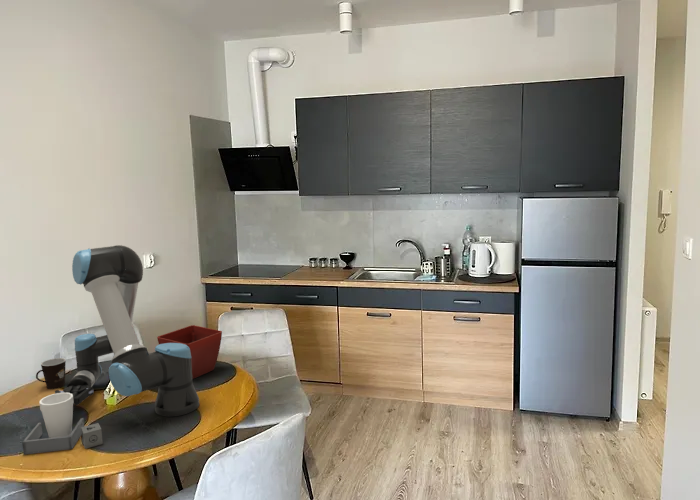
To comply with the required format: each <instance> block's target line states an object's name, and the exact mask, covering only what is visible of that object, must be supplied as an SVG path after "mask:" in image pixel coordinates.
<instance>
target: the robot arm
mask: <svg viewBox="0 0 700 500" xmlns="http://www.w3.org/2000/svg"><path fill="white" fill-rule="evenodd" d="M72 259H73V260H72V264H71V265H72V266H71V267H72V268H71V269H72V277H73V281H74V282H75V283H76V284H77V285H83V287H84V290H85V291H86V292H89V293H91V294H92V297H93V301H94V303H95V306H96V309H97V311H98V315H99V317H100V319H101V322H102V325H103V328H104V331H105V334H106V335H101V336H96V334H94V333H84V334H80V335H77V336H76V337H75V338H74V351H75V360H76V370H77V372H76V374H75V375H74V376H73V377H72V378H71V380H70V381H68V383H67V385H66V387H65V388H63V389H62V390H59V389H57V390H56V389H55V390H54V394H56V393H71V394H72V395H73V400H74V403H73V406H78V405H80V404H82V402H84V401H85V400H87V399H88V398H89V397H90V396H92V395H94V394H95V393H94V385H95V384H96V382H97V381H99V379H100V378H101V375H102V373H103V368H102V365H101V364H100V363H99V357H102V356H106V355H109V354H113V355H112V358H111V361H110V363H111V365H110V366H109V367H108V375H109V376H108V377H109V378H108V379H109V381H110V384H111V385H112V387H113V389H114V390H115V391H116V392H117V393H118V394H119V395H121V396H122V397H131V396H133V395H138V394H141V393H142V392H146V391H149V390H152V389H155V388H157V387H158V391H157V395H156V398H155V402H154V410H155V413H156V414H157V415H158V416H161V417H178V416H184V415H186V414H189V413H192V412H194V411H196V409H198V408H199V407H200V397H199V395H198V393H197V390H196V388H195V386H194V381H193V380H194V379H192V365H191V358H192V357H191V352H190V348H189V347H188V346H187V345H185V344H181V343H164V344H159V343H158V344H157V345H156V346H155V347H154V352H148V351H149V350H148V349H147V346H144V345H141V343H140V341H139V339H138V335H137V333H136V330H135V328H134V326H133V323H132V322H133V316H134V312H135V305H136V300H137V294H138V293H137V292H138V288H139V283H140V282H141V281H142V280H143V275H144V267H143V262H142V260H141V258H140V256H139V255H138V254H137V252H136V251H134V250H133V249H132V248H130V247H129V246H125V245H122V244H121V245H118V244H117V245H113V246H112V245H111V246H103V247H94V248H90V247H89V248H87V249H80V250H78V251H77V252H76V253H75V254H74V255H73V258H72Z"/></svg>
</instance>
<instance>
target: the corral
mask: <svg viewBox="0 0 700 500" xmlns="http://www.w3.org/2000/svg"><path fill="white" fill-rule="evenodd" d="M81 427H85V420H84V417H80V418H79V420H78V421H77V423H76V425H75V427H73V428H72V432H71V434H70V435H69V436H63V437H54V438H49V437H45V438H41V436H42V435H43V429H42V428H43V426H42V422H38V423H37V424H36V425H35V427H33V428H32V430H31V431H30V432H29V434H27V436H26V437H25V438H24V440H23V441H22V443H21V444H22V451H23V455H33V454H40V453H49V452H59V451H67V450H73V448H74V447H75V445H77V443H78V440H80V438H81V437H82V432H81Z"/></svg>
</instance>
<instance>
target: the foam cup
mask: <svg viewBox="0 0 700 500" xmlns="http://www.w3.org/2000/svg"><path fill="white" fill-rule="evenodd" d="M38 403H39V409H40V412H41V415H42V418H43V420H44V425H45V428H46V431H47V435H48V438H54V437H63V436H69V435H70V434H71V432H72V431H73V416H74V414H73V413H74V412H73V411H74V405H73V403H74V400H73V395H72V394H71V393H56V394H55V393H52V394H48V395H47V396H44V397H42V398H41V399H40V400H39V402H38Z"/></svg>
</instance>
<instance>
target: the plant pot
mask: <svg viewBox="0 0 700 500" xmlns="http://www.w3.org/2000/svg"><path fill="white" fill-rule="evenodd" d="M222 335H223V330H219V329H214V328H208V327H203V326H199V325H195V324H194V325H193V324H192V325H187V326H185V327H182V328H179V329H175V330H173V331H170V332H167V333H164V334H161V335H158V336H156V338H157V342H158V345H159V344H164V343H181V344H185V345H187V346H188V347H189V348H190V352H191V357H192V358H191V365H192V379H193V380H194V379H196V378H198V377H201V376H203V375H206V374H207V373H210V372H212V371H214V369H215V367H216V365H217V362H218V358H219V354H220V348H221V344H222Z"/></svg>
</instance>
